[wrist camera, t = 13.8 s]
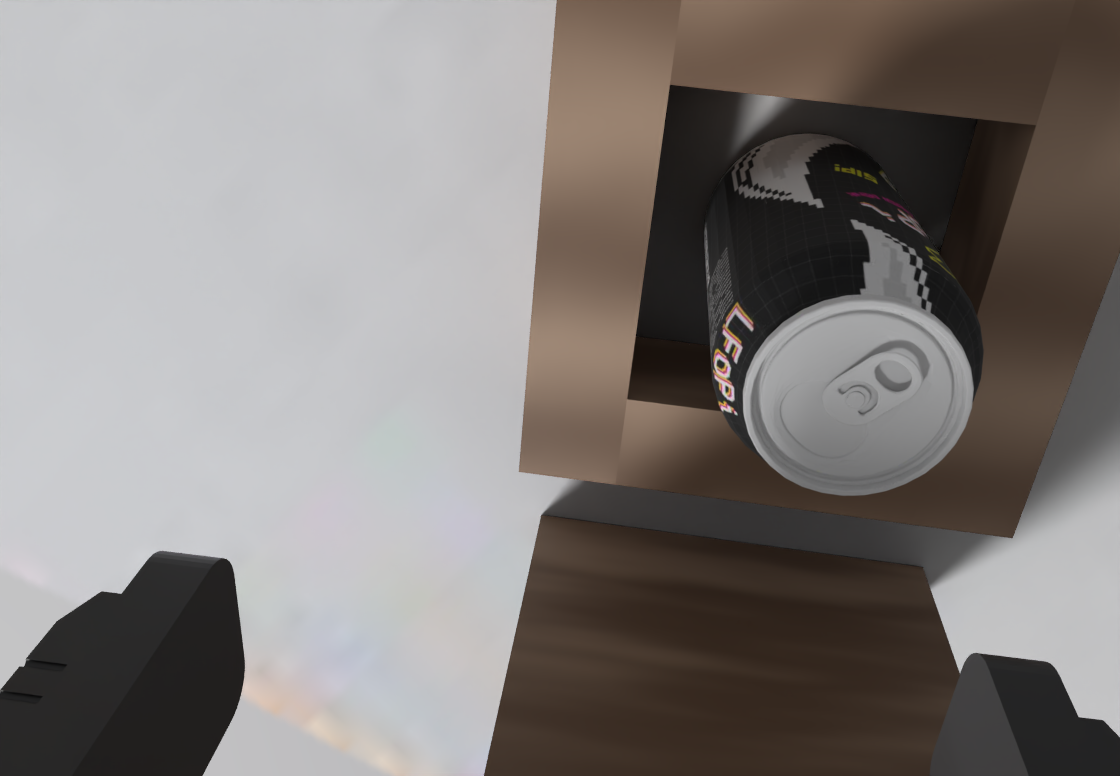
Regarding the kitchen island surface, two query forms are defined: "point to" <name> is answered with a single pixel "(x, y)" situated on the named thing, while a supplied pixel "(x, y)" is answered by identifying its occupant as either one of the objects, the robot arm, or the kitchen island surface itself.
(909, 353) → the beverage can
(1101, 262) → the socket block
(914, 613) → the grey-capped wooden panel
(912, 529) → the kitchen island surface
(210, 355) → the kitchen island surface
